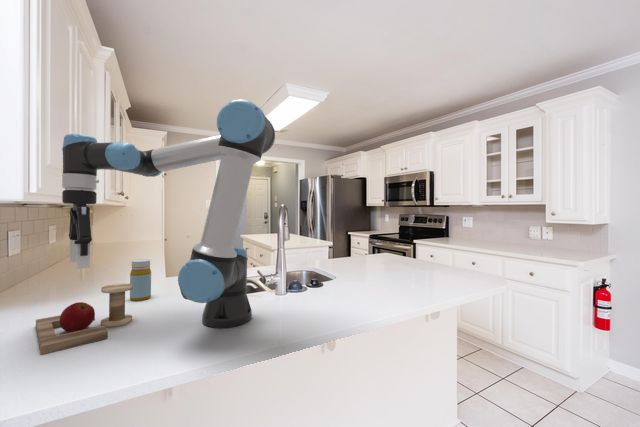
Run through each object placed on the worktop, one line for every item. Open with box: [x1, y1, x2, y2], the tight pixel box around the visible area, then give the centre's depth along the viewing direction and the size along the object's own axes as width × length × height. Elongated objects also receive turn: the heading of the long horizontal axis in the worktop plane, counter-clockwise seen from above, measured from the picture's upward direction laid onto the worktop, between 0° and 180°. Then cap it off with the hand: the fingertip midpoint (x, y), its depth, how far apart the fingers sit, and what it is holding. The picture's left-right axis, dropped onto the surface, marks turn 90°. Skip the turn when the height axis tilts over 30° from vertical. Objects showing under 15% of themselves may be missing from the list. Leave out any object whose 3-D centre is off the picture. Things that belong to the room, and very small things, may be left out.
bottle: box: [129, 258, 152, 302], centre depth 114 cm, size 7×7×15 cm
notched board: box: [35, 314, 109, 355], centre depth 82 cm, size 24×13×2 cm, turn 46°
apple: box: [60, 301, 96, 333], centre depth 83 cm, size 8×8×8 cm
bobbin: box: [100, 282, 133, 328], centre depth 90 cm, size 8×8×11 cm
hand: (79, 264), depth 83 cm, fingers open, 13 cm apart
